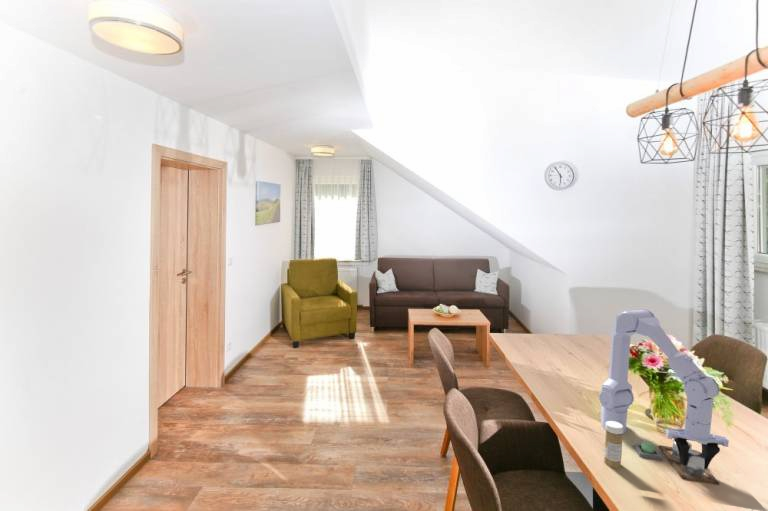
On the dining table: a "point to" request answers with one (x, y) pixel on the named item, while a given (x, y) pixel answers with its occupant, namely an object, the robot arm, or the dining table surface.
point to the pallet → (674, 463)
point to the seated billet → (675, 450)
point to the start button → (647, 447)
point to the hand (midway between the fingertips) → (693, 465)
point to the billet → (695, 463)
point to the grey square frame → (647, 455)
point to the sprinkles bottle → (613, 444)
